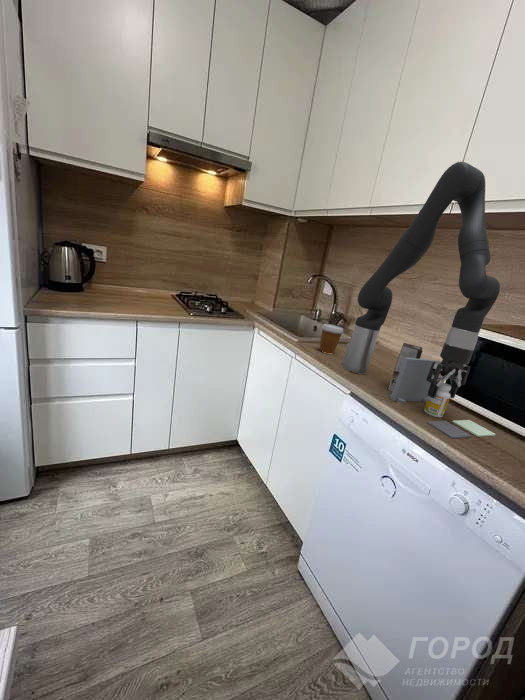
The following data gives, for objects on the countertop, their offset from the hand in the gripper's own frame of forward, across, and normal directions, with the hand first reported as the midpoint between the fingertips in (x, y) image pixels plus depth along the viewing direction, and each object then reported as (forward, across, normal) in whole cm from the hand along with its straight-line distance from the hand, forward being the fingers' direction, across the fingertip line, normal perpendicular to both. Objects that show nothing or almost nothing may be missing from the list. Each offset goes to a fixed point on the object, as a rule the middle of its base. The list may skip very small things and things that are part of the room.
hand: (440, 396), depth 99 cm
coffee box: (+6, -3, -18) cm, 19 cm away
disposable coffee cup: (+5, +1, -56) cm, 57 cm away
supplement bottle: (+6, 0, 0) cm, 6 cm away
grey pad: (+6, +5, +8) cm, 11 cm away
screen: (+6, 0, -10) cm, 11 cm away
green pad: (+6, -6, +8) cm, 12 cm away
